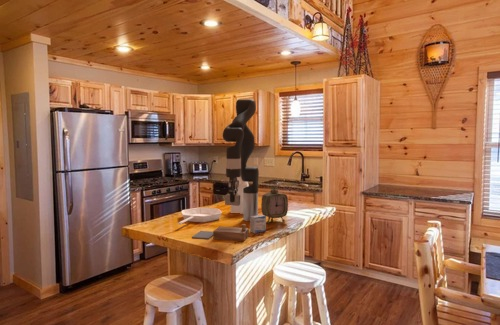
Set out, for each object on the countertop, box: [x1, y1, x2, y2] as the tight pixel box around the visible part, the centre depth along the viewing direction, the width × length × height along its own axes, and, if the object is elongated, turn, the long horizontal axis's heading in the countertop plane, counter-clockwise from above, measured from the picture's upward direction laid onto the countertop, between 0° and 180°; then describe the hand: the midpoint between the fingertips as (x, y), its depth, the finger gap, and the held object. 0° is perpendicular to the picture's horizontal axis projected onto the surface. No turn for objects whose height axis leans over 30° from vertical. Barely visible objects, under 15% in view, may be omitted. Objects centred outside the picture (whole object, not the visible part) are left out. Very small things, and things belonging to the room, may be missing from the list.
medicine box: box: [249, 214, 267, 234], centre depth 182 cm, size 8×4×9 cm, turn 126°
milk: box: [230, 177, 250, 215], centre depth 232 cm, size 12×12×26 cm
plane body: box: [212, 223, 250, 242], centre depth 171 cm, size 10×16×7 cm, turn 77°
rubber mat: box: [191, 230, 213, 240], centre depth 174 cm, size 12×9×1 cm
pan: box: [177, 207, 222, 225], centre depth 206 cm, size 28×41×4 cm
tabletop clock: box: [260, 180, 289, 225], centre depth 204 cm, size 14×9×25 cm, turn 117°
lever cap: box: [224, 193, 240, 206], centre depth 170 cm, size 4×7×6 cm, turn 77°
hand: (233, 201), depth 170 cm, fingers closed on lever cap, 3 cm apart
